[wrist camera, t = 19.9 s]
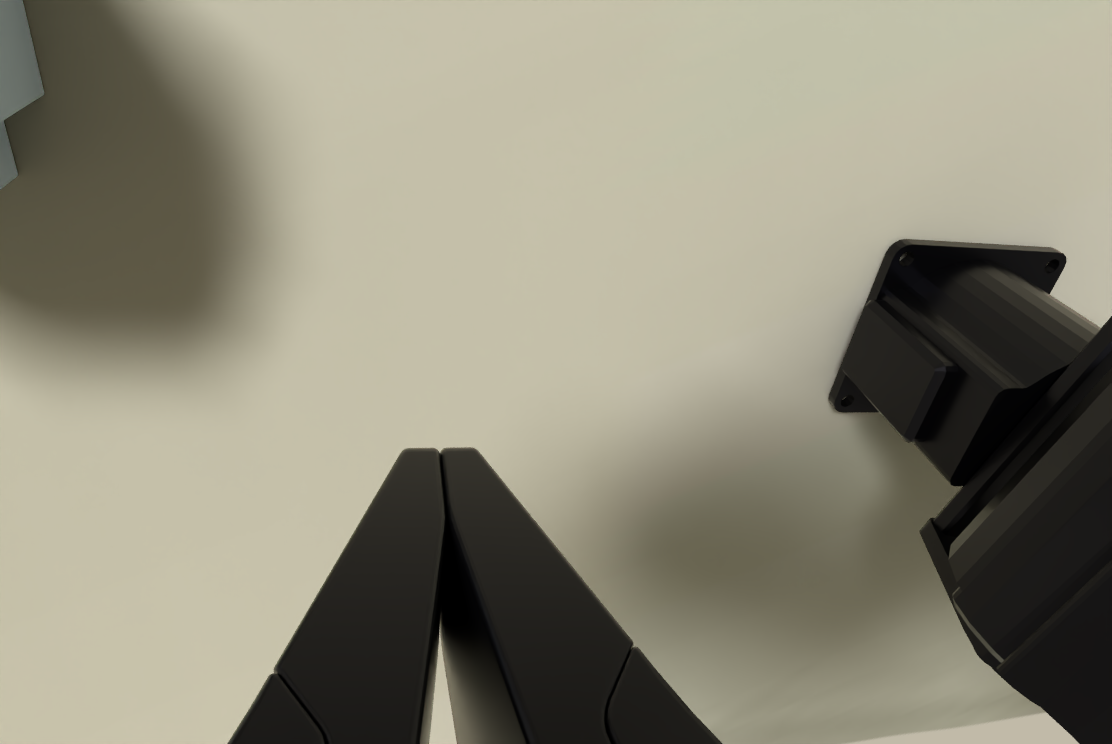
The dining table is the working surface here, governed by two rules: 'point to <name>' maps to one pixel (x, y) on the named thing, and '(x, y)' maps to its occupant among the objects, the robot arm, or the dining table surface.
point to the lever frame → (15, 76)
